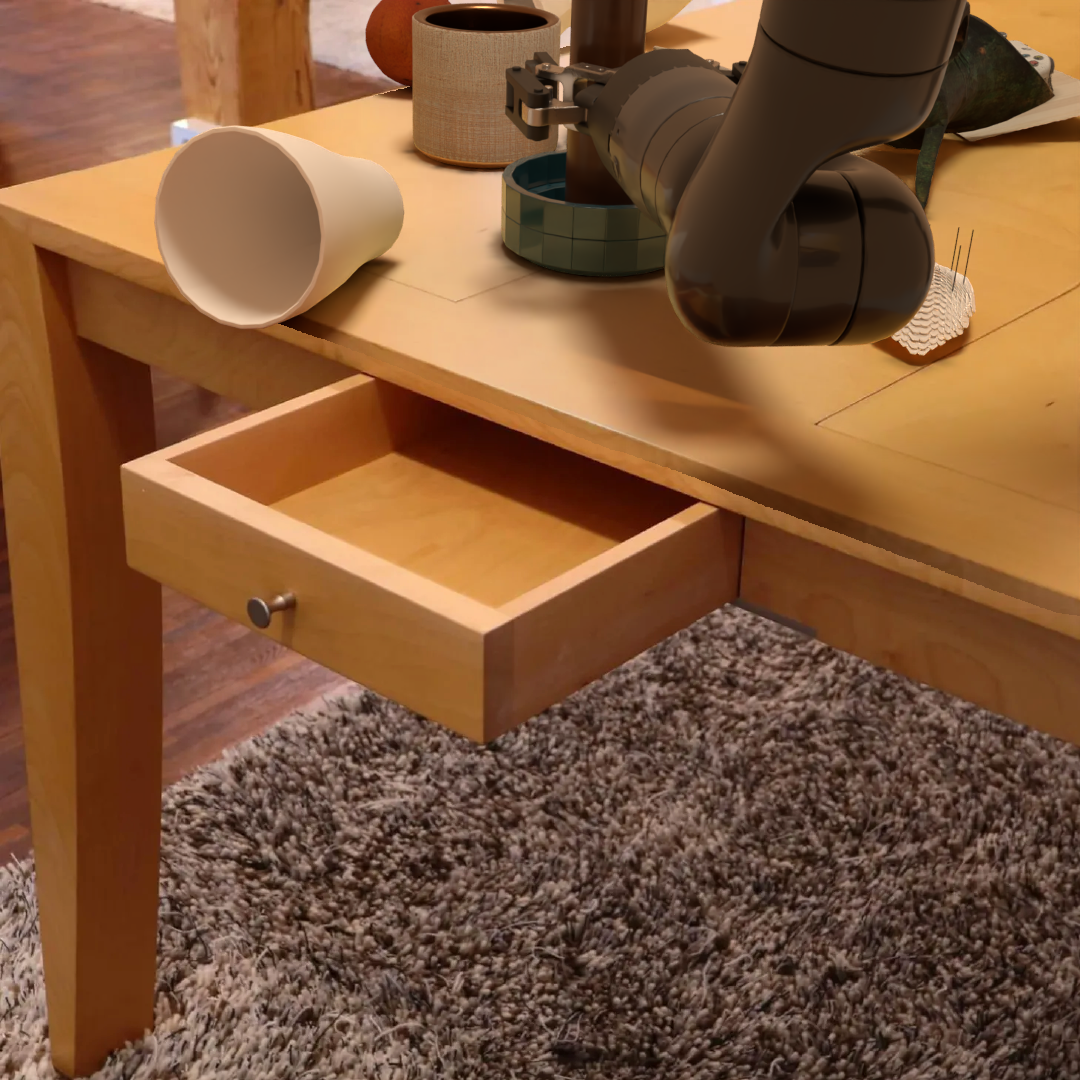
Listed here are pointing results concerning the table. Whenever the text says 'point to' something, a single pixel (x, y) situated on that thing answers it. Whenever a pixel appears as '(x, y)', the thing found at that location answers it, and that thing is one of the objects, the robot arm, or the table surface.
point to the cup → (269, 222)
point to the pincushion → (940, 310)
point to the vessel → (974, 93)
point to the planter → (475, 80)
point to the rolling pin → (604, 40)
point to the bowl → (573, 224)
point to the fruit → (395, 36)
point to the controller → (1065, 104)
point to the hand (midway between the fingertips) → (609, 67)
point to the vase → (660, 10)
